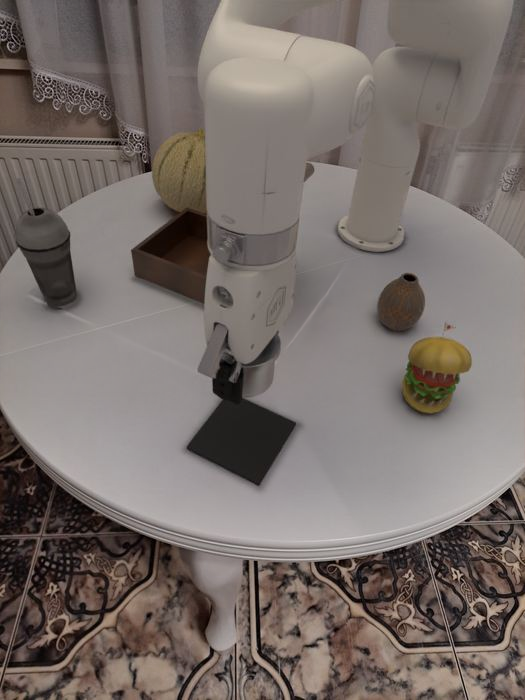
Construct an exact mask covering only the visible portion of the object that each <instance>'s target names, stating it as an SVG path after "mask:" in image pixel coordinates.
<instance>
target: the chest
mask: <svg viewBox="0 0 525 700" xmlns="http://www.w3.org/2000/svg"><path fill="white" fill-rule="evenodd" d="M130 253H131V260H132V267H133V273H134V276H135V277H136V278H139V279H142V280H144V281H146V282H149V283H151V284H154V285H157V286H159V287H161V288H164V289H166V290H168V291H171V292H174V293H176V294H179V295H181V296H184V297H186V298H188V299H191V300H194V301H196V302H198V303H201V304H203V305H204V302H205V288H206V278H207V270H208V263H209V257H210V255H211V254H210V252H209V250H208V245H207V213H202V212H199V211H196V210H193V209H190V208H185V209H184V210H183V211H181V212H178V213H177V214H176V215H175V216H174V217H172V218H171V219H169V220H168V221H167V222H165V223H164V224H163V225H162V226H160V227H159V228H158V229H156V230H155V231H154V232H153V233H151V234H150V235H148V236H147V237H146V238H144V239H143V240H142V241H141V242H139V243H138V244H136V245H135V246H134V247H133V248H131V249H130Z"/></svg>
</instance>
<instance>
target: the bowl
mask: <svg viewBox="0 0 525 700" xmlns="http://www.w3.org/2000/svg"><path fill="white" fill-rule="evenodd" d="M281 347H282V341H281V337H280V335H279V332H278V333H276V334H275V335H274V337H273V338H272V339H271V340H270V342H269V343H268V344H267V346H266V347H265V348H264V349H263V351H262V352H261V353H260V354H259V356H258V357H257V358H256V359H255V360H253V361H252V362H250V363H248V364H243V363H242V366H241V370H240V374H241V375H242V376H243V387H242V398H244V399H246V398H254V397H258V396H260V395H262V394H264V393H265V392H267V391H268V390H269V389H270V388H271V386H272V384H273V383H274V382H273V381H274V376H275V368H276V367H275V366H276V361H277V359H278V358H279V356H280V354H281V350H282V349H281ZM233 360H234V357H232V356H229V355H227V354H225V353H223V355H222V359H221V362H220V363H223V364H225V365H227V366H229V367H232V363H233Z"/></svg>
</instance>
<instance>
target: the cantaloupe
mask: <svg viewBox="0 0 525 700" xmlns="http://www.w3.org/2000/svg"><path fill="white" fill-rule="evenodd" d="M197 129H198V130H197V132H185V131H183V132H179V133H176V134H173V135H172V136H170V137H168V138H167V139H166V140H165V141H164V142H163V143H162V144H161V145H159V147H158V149H157V151H156V153H155V156H154V157H153V158H154V159H153V161H152V166H151V178H152V183H153V187H154V190H155V191H156V193H157V195H158V196H159V197H160V199H161V200H162V202H163V203H164V204H165V205H167V207H169V208H170V209H171V210H174V211H175V212H178V213H180V212H181V211H183V210H184V209H185V208H190V209H193V210H196V211H199V212H202V213H205V214H207V202H206V159H205V133H204V130H203V129H202V128H201V127H198V128H197Z"/></svg>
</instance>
